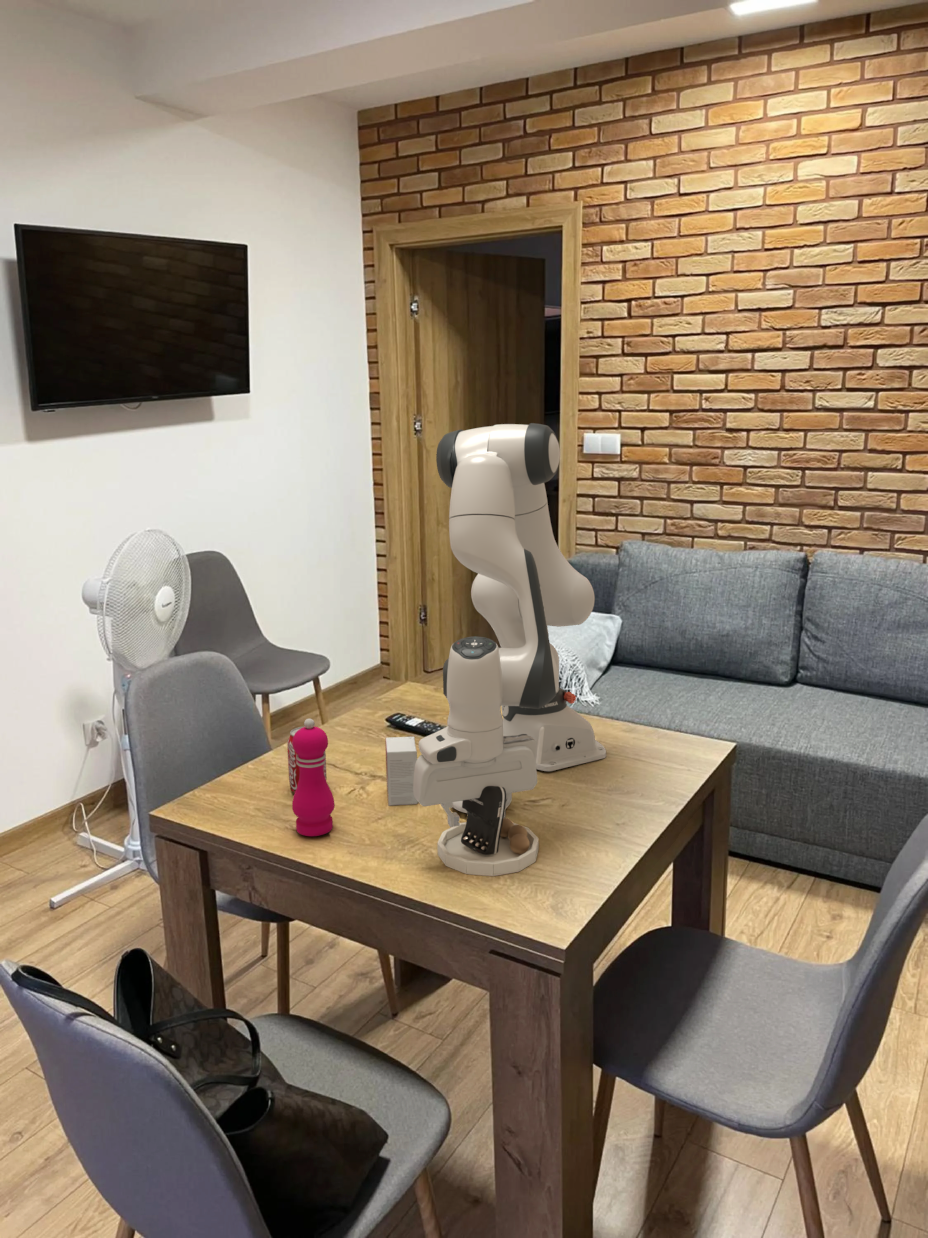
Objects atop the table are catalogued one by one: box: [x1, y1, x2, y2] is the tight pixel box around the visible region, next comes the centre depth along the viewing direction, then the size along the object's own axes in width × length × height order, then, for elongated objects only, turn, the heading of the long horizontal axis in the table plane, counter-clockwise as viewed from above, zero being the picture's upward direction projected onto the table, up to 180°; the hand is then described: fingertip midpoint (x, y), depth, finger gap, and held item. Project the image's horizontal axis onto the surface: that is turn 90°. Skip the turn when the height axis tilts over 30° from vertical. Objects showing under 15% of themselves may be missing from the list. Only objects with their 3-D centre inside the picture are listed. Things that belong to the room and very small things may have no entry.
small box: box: [384, 736, 419, 807], centre depth 179 cm, size 8×6×10 cm
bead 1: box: [500, 817, 514, 837], centre depth 161 cm, size 3×3×3 cm
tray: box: [436, 822, 540, 877], centre depth 157 cm, size 16×16×2 cm
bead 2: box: [508, 824, 527, 840], centre depth 159 cm, size 3×3×3 cm
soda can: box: [286, 725, 328, 794], centre depth 182 cm, size 7×7×12 cm
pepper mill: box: [291, 718, 336, 837], centre depth 165 cm, size 7×7×20 cm
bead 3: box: [510, 834, 530, 854], centre depth 155 cm, size 3×3×3 cm
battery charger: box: [461, 786, 506, 855], centre depth 156 cm, size 7×4×11 cm, turn 42°
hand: (476, 821), depth 156 cm, fingers open, 6 cm apart
